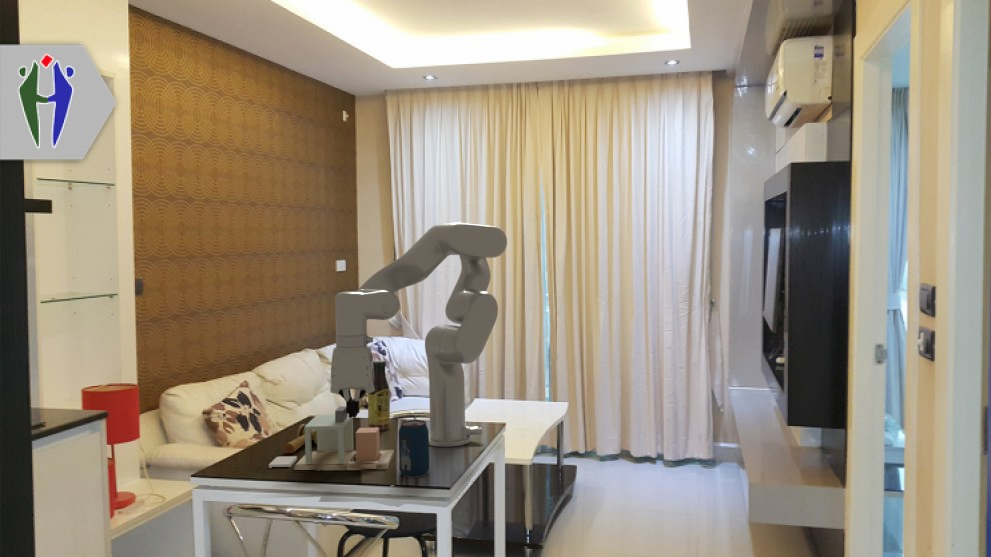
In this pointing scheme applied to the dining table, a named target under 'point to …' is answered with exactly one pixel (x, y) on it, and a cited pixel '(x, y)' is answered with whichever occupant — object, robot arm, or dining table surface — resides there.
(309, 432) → the pale green table stand
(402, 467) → the soda can
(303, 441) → the kendama
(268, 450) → the dining table surface
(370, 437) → the block
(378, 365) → the sauce bottle
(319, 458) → the puzzle board
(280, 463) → the ceramic trivet
